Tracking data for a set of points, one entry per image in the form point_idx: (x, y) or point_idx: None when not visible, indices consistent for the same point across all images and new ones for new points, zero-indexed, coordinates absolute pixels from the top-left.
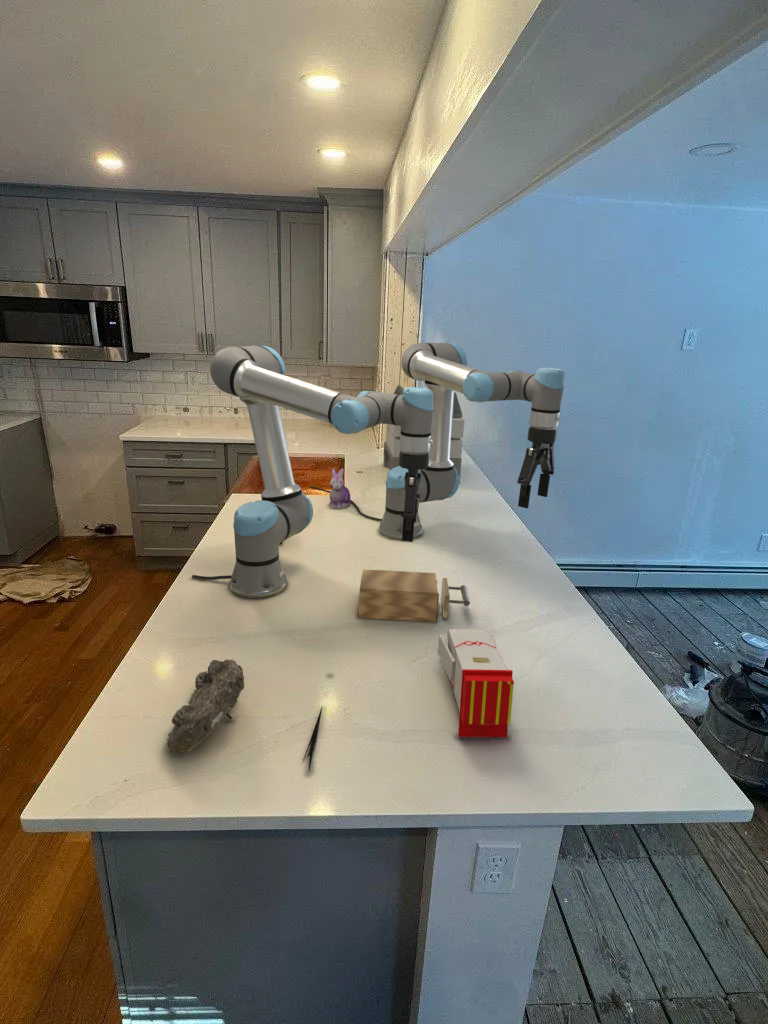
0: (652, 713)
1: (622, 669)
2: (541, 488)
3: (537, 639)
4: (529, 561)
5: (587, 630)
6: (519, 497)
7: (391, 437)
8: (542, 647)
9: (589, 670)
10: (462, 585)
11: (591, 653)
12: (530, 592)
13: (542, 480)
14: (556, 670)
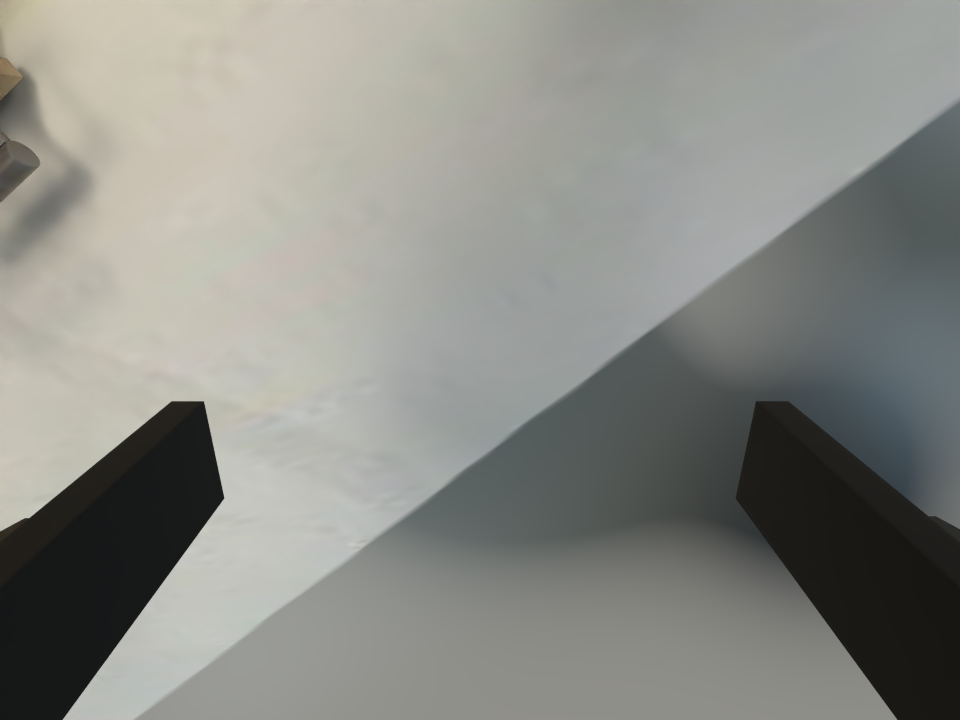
0: (91, 713)
1: (191, 647)
2: (801, 494)
3: None
4: (708, 195)
5: (300, 545)
6: (100, 466)
7: None
8: None
9: None
10: (5, 150)
11: (194, 583)
12: (405, 326)
13: (887, 585)
14: None
